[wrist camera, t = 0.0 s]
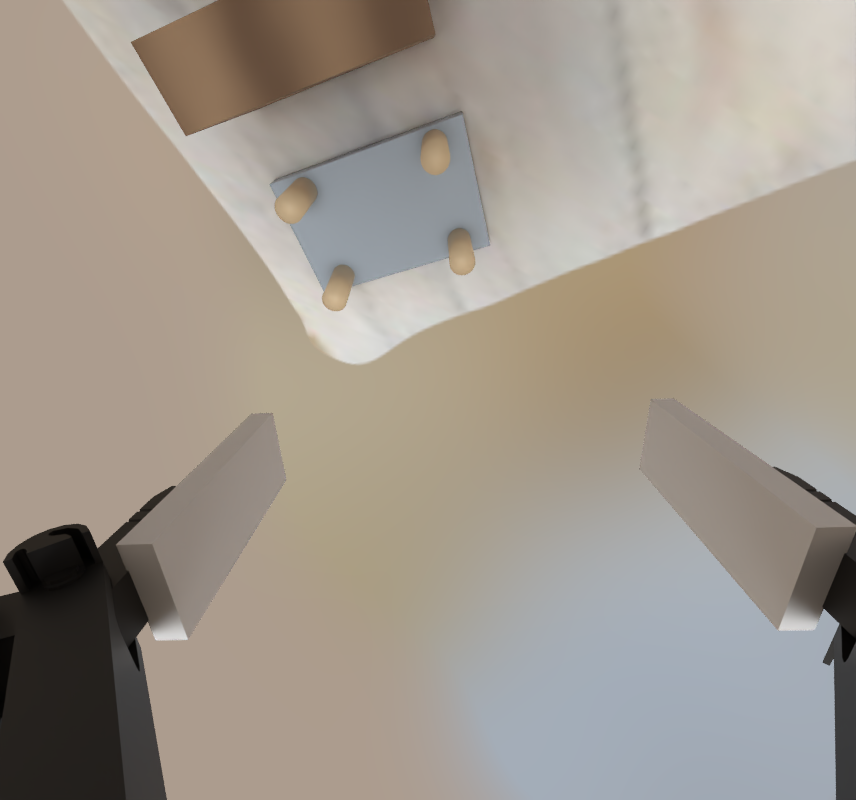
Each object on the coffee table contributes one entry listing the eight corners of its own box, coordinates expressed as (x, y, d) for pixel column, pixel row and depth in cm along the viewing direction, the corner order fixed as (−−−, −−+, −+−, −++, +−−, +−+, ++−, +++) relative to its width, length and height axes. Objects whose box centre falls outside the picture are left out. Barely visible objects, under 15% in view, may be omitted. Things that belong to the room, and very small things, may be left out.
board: (415, -44, 26) (407, -91, 17) (433, 37, 29) (435, 33, 19) (225, 42, 29) (130, 42, 20) (256, 109, 31) (186, 136, 22)
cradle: (461, 111, 31) (467, 124, 26) (488, 239, 37) (497, 268, 33) (274, 179, 34) (249, 202, 29) (328, 287, 41) (314, 320, 36)
